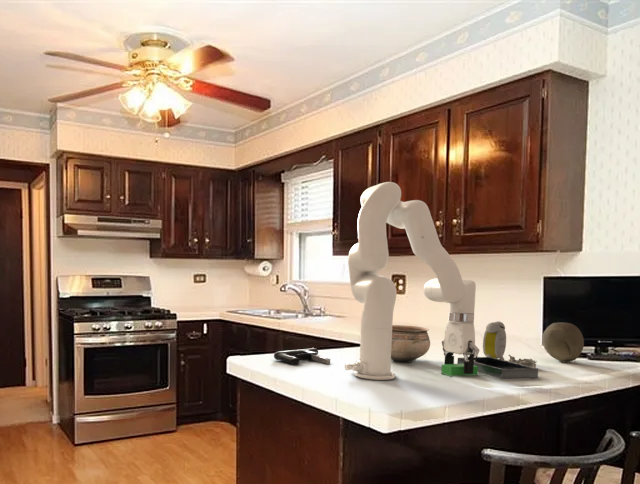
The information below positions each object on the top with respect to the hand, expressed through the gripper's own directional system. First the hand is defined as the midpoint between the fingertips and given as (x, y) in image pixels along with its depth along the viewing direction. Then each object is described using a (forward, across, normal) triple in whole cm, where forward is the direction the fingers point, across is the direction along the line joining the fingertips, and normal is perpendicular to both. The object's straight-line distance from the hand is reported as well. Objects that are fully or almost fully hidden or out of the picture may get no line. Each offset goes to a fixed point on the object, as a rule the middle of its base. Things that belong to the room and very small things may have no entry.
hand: (458, 370), depth 174 cm
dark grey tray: (+1, -1, +15) cm, 15 cm away
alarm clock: (+1, -20, +31) cm, 37 cm away
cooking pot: (+2, -27, -4) cm, 27 cm away
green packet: (+1, 0, 0) cm, 1 cm away
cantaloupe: (+1, -18, +59) cm, 62 cm away
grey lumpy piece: (+1, -7, +31) cm, 32 cm away
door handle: (+2, -30, -41) cm, 51 cm away
